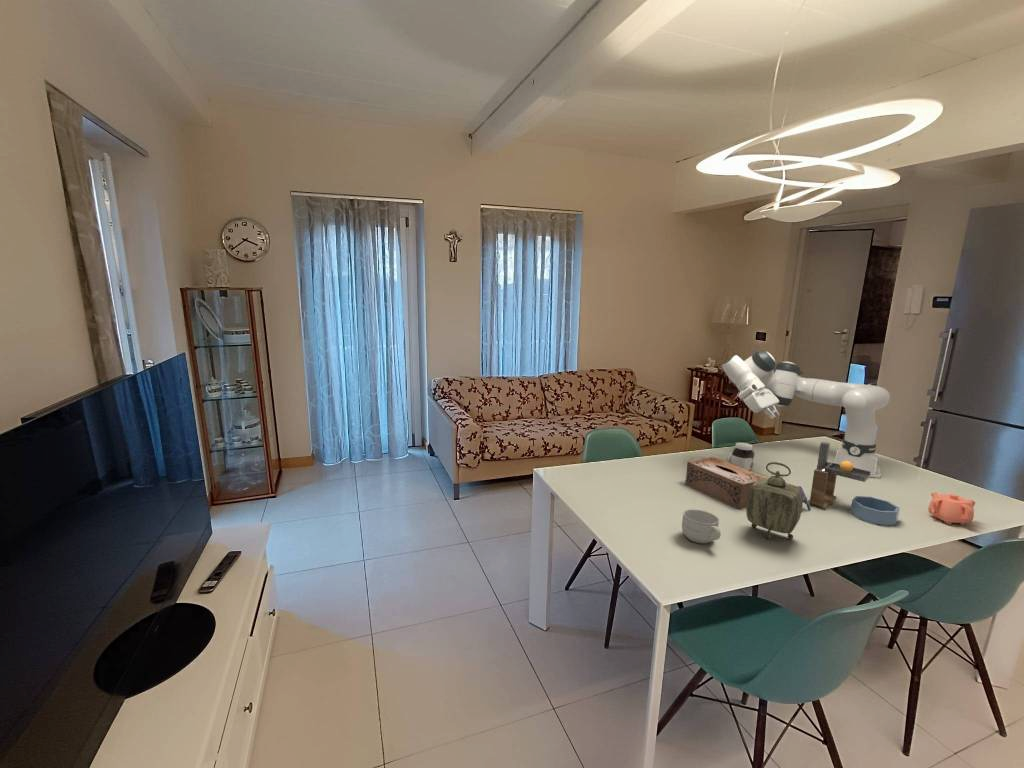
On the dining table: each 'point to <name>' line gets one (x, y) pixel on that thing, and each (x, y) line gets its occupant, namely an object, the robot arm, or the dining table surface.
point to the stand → (822, 489)
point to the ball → (846, 466)
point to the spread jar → (742, 456)
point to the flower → (805, 498)
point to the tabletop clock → (774, 503)
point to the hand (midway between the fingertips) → (775, 417)
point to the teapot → (951, 508)
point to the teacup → (700, 526)
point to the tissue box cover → (721, 480)
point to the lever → (838, 466)
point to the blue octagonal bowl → (875, 510)
